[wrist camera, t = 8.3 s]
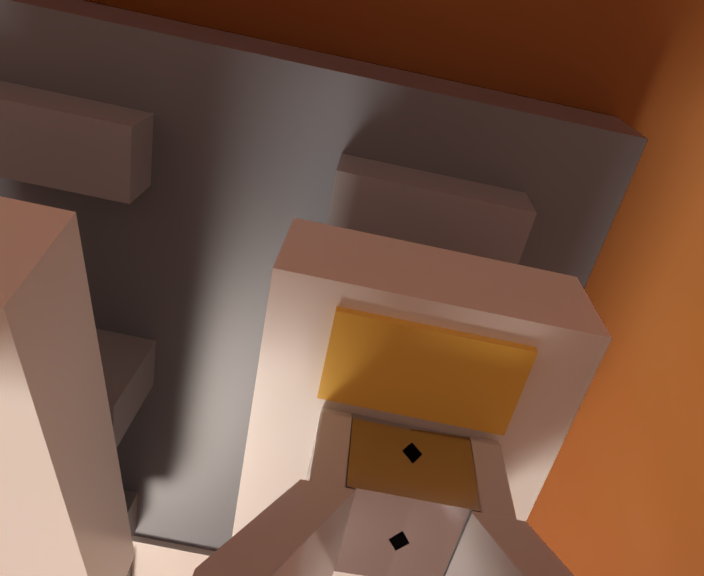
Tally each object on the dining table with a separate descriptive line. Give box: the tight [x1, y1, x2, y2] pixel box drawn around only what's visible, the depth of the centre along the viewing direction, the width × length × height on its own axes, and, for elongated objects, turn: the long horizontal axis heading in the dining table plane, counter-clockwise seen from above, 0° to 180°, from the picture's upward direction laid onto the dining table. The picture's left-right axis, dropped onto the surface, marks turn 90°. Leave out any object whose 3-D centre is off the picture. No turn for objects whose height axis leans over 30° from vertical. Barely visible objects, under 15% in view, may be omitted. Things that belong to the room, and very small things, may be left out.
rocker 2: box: [232, 218, 612, 576], centre depth 12 cm, size 12×5×2 cm, turn 169°
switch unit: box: [0, 0, 648, 576], centre depth 16 cm, size 18×24×5 cm
